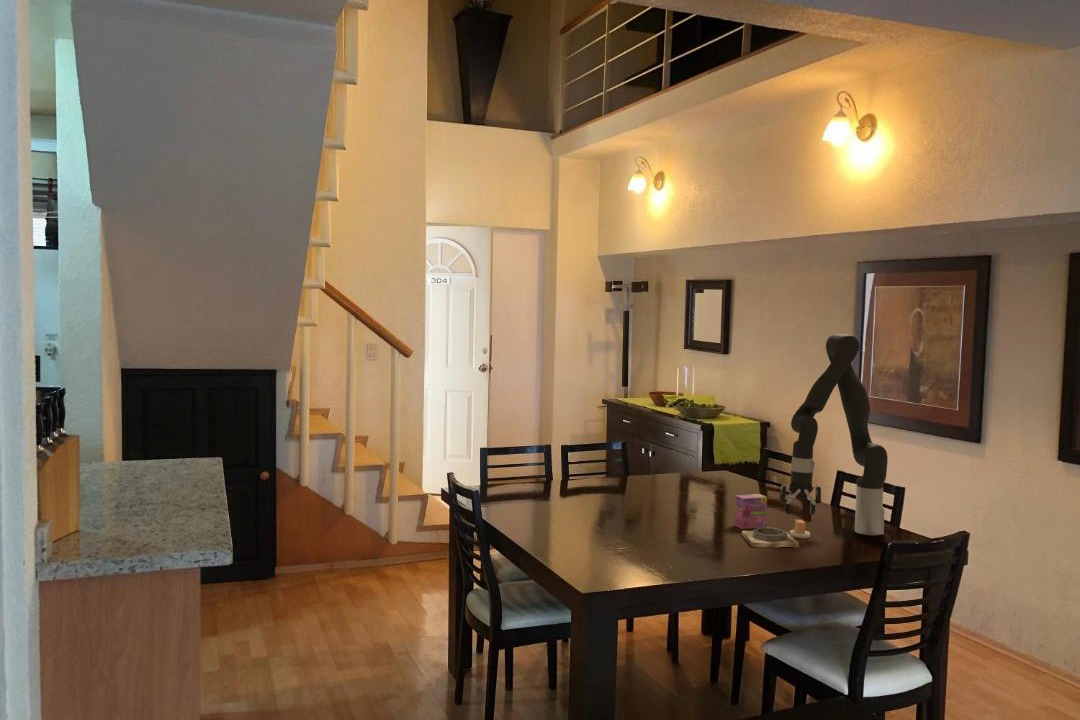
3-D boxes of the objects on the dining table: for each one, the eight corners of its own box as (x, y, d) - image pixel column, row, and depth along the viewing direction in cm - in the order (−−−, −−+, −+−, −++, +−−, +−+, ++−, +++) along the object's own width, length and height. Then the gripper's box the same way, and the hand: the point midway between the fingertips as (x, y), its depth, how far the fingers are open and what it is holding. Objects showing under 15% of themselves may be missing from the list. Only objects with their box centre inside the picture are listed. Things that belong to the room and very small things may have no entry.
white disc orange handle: (806, 533, 316) (806, 519, 315) (812, 538, 309) (812, 523, 308) (787, 533, 316) (787, 518, 315) (792, 538, 309) (793, 523, 308)
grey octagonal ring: (780, 533, 310) (781, 527, 309) (789, 541, 299) (789, 535, 299) (750, 532, 310) (750, 527, 309) (758, 540, 299) (758, 535, 299)
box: (741, 529, 320) (742, 498, 319) (734, 525, 326) (735, 494, 325) (766, 527, 323) (767, 496, 322) (758, 524, 328) (759, 493, 328)
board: (785, 535, 312) (786, 531, 312) (798, 547, 296) (799, 543, 296) (741, 534, 312) (741, 530, 312) (752, 547, 296) (752, 542, 296)
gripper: (818, 468, 314) (815, 512, 315) (779, 467, 314) (777, 511, 315) (824, 472, 307) (822, 517, 308) (785, 471, 307) (782, 515, 308)
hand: (799, 514), depth 312 cm, fingers open, 8 cm apart
